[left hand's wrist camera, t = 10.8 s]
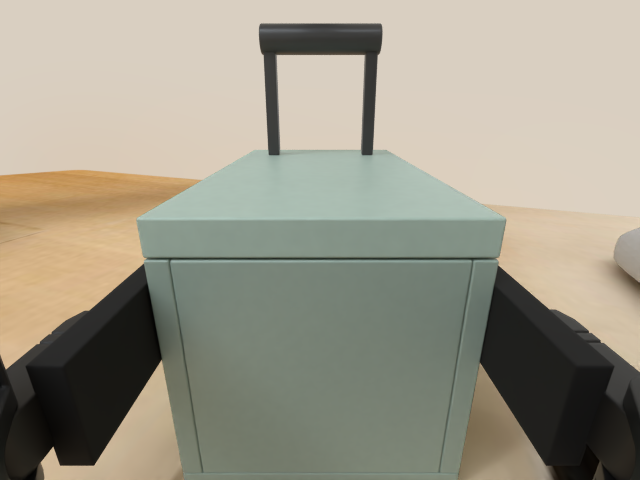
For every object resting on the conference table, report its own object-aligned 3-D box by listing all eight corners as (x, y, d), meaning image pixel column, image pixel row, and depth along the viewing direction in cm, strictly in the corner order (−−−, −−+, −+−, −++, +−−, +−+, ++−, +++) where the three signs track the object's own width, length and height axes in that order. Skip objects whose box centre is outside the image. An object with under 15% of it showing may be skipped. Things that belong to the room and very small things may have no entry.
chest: (260, 277, 29) (253, 167, 26) (380, 277, 29) (387, 167, 26) (184, 487, 13) (142, 260, 10) (456, 487, 13) (500, 260, 10)
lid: (255, 165, 27) (247, 35, 24) (385, 166, 27) (394, 35, 24) (142, 259, 10) (64, -158, 7) (500, 259, 10) (579, -159, 7)
